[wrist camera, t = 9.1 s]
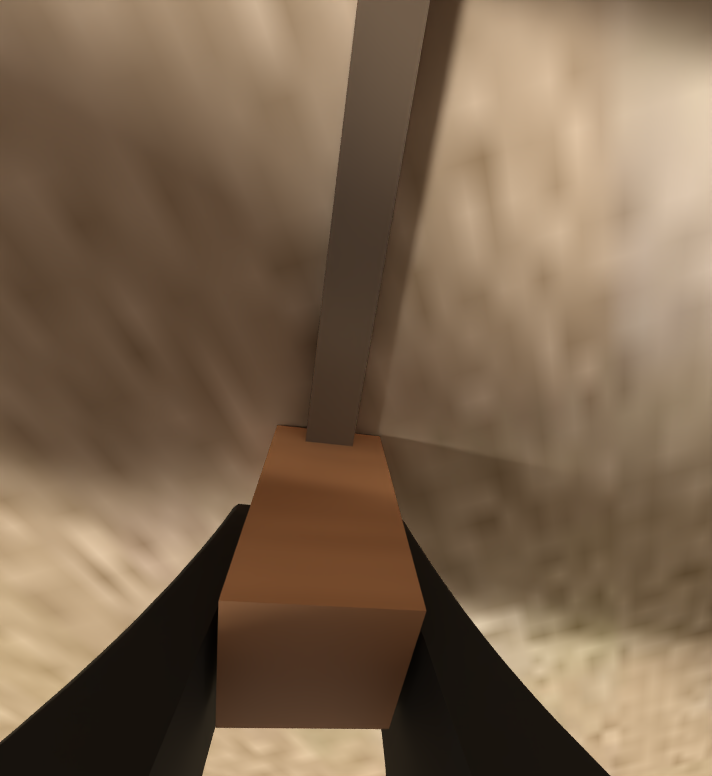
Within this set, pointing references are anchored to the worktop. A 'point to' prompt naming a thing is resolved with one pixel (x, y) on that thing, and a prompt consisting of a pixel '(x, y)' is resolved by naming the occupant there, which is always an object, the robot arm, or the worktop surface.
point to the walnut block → (334, 458)
